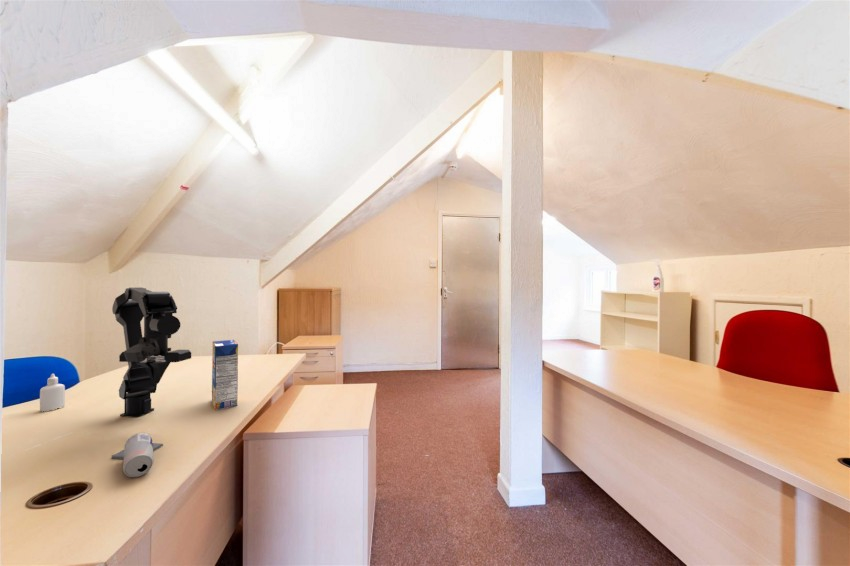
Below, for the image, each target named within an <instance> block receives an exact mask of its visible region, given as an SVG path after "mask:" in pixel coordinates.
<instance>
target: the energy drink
mask: <svg viewBox="0 0 850 566" xmlns="http://www.w3.org/2000/svg"><path fill="white" fill-rule="evenodd" d="M153 443H154V442H153V438H152V436H151V435H150V434H149V433H146V432H139V433H135V434H133V435H131V436H130V437H129V438H128V439H127V440H126V441H125V443H124V446H123V447H124V449H123V450H124V459H123V462H122V463H123V466H122V471H123V473H124V474H125V475H126V476H127V477H129V478H138V477H142V476H144V475H145V474H147V473H148V472H149V471H150V470H151V469H152V467H153V465H154V462H155V461H154V460H155V459H154V451H153Z"/></svg>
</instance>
